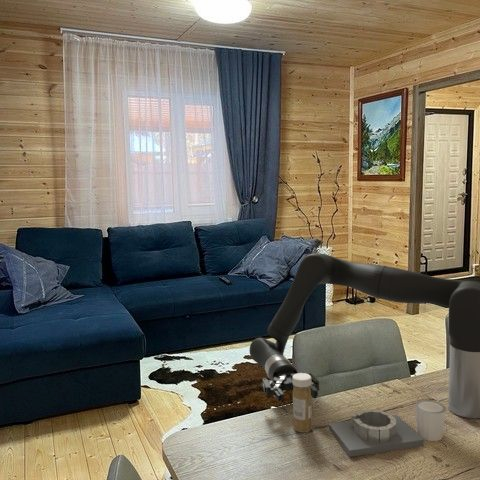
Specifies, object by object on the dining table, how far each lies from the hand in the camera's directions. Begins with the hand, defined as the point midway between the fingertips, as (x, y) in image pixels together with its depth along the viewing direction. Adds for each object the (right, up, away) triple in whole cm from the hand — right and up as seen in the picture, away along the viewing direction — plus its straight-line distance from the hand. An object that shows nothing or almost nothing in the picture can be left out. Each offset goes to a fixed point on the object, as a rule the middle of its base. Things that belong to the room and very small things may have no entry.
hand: (299, 396), depth 120 cm
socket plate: (+17, -7, -7) cm, 20 cm away
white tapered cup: (+30, -7, -6) cm, 31 cm away
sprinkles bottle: (+1, -7, -2) cm, 8 cm away
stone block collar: (+17, -6, -7) cm, 19 cm away
